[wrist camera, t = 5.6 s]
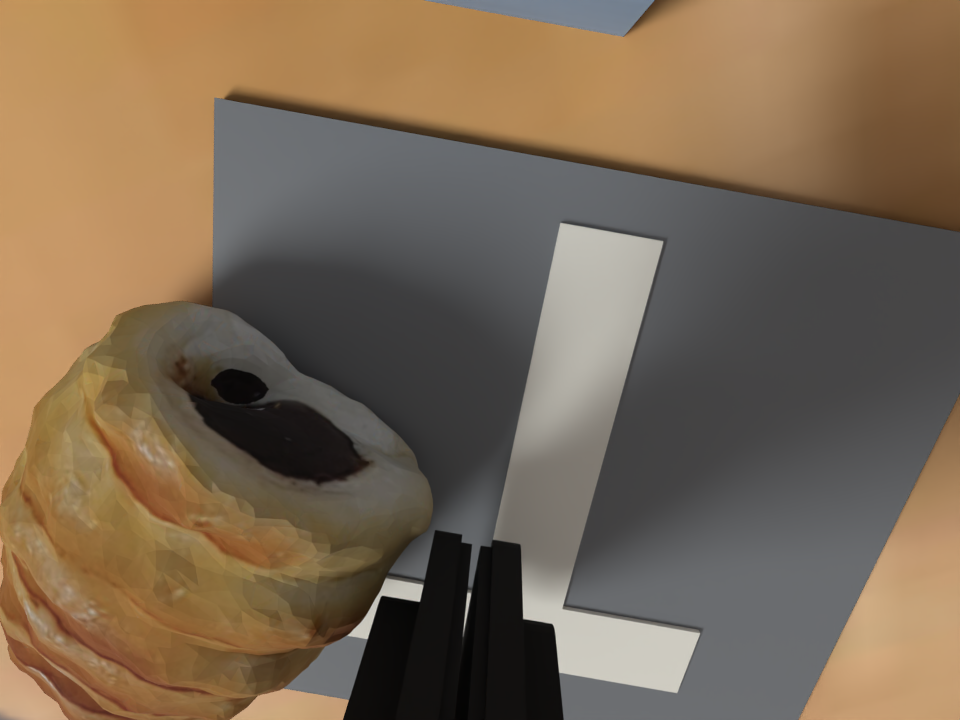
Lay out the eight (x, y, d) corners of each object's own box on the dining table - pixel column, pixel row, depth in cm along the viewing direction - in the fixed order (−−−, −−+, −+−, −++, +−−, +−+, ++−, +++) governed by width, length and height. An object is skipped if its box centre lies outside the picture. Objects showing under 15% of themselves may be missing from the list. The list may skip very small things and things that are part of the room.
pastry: (244, 715, 14) (137, 905, 10) (7, 561, 13) (-197, 706, 10) (469, 460, 11) (429, 599, 7) (178, 245, 10) (-25, 280, 7)
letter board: (220, 99, 9) (211, 97, 9) (1022, 243, 10) (1038, 245, 9) (213, 668, 14) (206, 679, 13) (768, 764, 14) (773, 777, 14)
